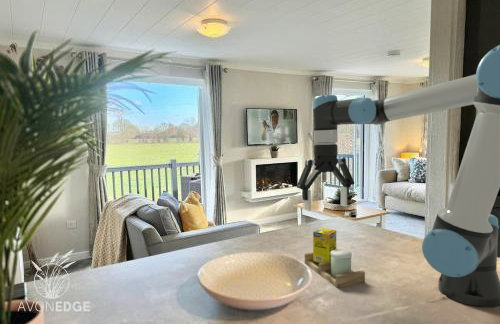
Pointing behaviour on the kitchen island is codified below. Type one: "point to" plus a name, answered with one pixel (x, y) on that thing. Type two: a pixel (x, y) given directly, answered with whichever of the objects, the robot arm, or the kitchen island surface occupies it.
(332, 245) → the supplement box
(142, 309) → the kitchen island surface
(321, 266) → the caddy
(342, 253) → the pale green cylinder
